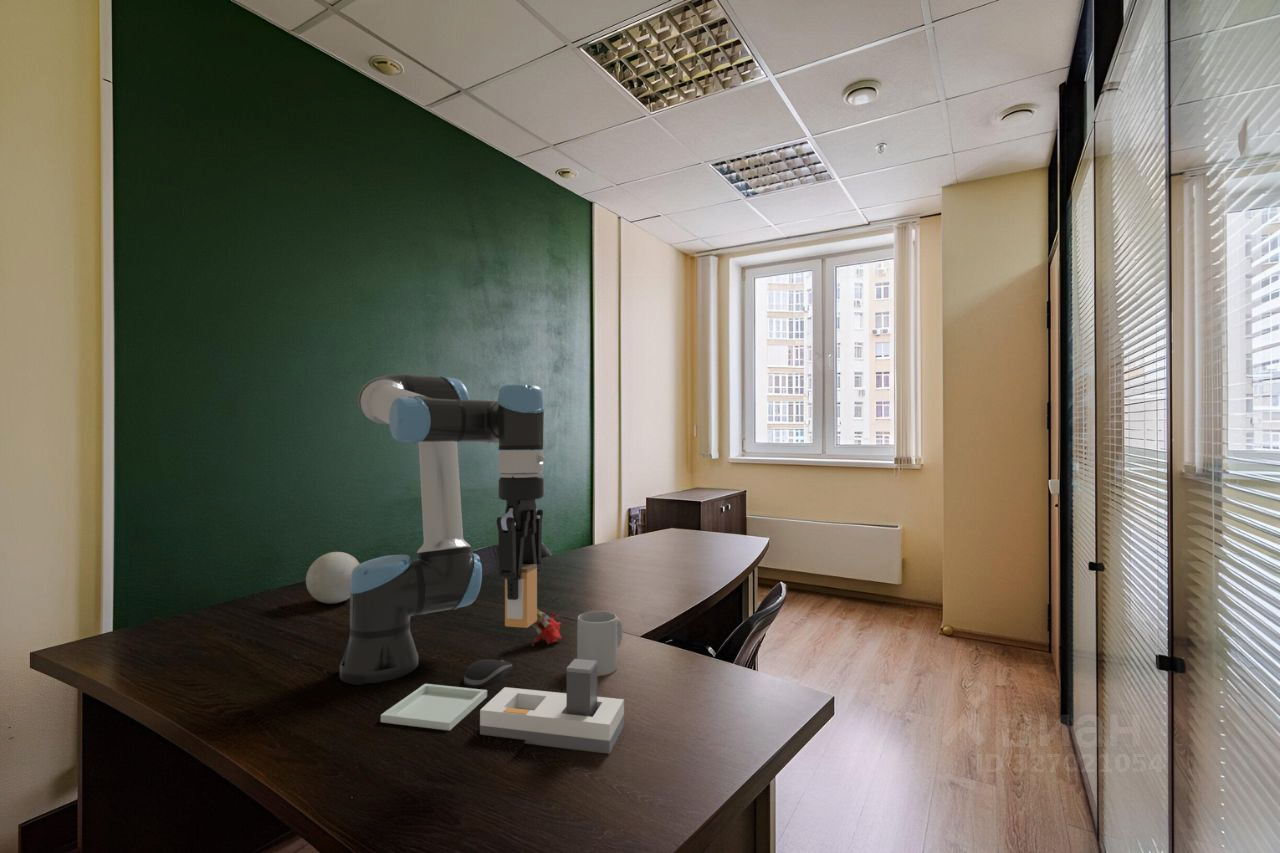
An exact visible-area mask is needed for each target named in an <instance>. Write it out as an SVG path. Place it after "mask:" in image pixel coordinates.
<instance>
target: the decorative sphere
mask: <svg viewBox="0 0 1280 853" xmlns="http://www.w3.org/2000/svg"><path fill="white" fill-rule="evenodd" d="M359 564H361V563H360V562H359V560H357V558H355V557H354V556H353V555H351V554H349V553H347V552H342V551H332V552H328V553H324V554H323V555H321V556H319V557H318V558H317V559H316V560H314V561H313V562H312V563H311V565H310V566H309V567H308V570H307V572H306V577H305V585H306V590H307V591H308V593H309V594H310V596H311V598H314V600H316V601H318V602H321V603H324V604H339V603H342V602H344V601H347V600H349V599H350V592H349V589H350V582H351V573H352V571H353V569H354V568H355V567H356V566H358V565H359Z"/></svg>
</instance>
